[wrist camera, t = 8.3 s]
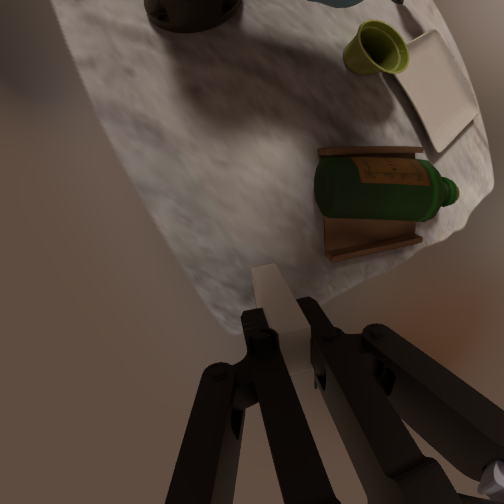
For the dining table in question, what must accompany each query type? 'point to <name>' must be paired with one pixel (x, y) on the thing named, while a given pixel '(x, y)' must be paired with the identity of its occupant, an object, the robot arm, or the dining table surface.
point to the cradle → (367, 230)
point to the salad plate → (437, 89)
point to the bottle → (381, 188)
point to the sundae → (398, 1)
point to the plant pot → (377, 50)
